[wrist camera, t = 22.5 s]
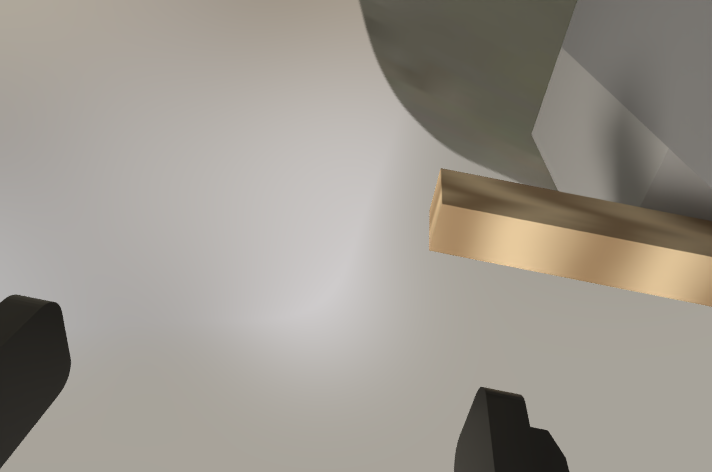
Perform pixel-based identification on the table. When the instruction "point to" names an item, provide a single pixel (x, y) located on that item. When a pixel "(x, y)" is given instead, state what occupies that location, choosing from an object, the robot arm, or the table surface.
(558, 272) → the tan wooden bar piece
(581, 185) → the stand
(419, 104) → the table surface
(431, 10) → the table surface
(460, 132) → the table surface
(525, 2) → the table surface
